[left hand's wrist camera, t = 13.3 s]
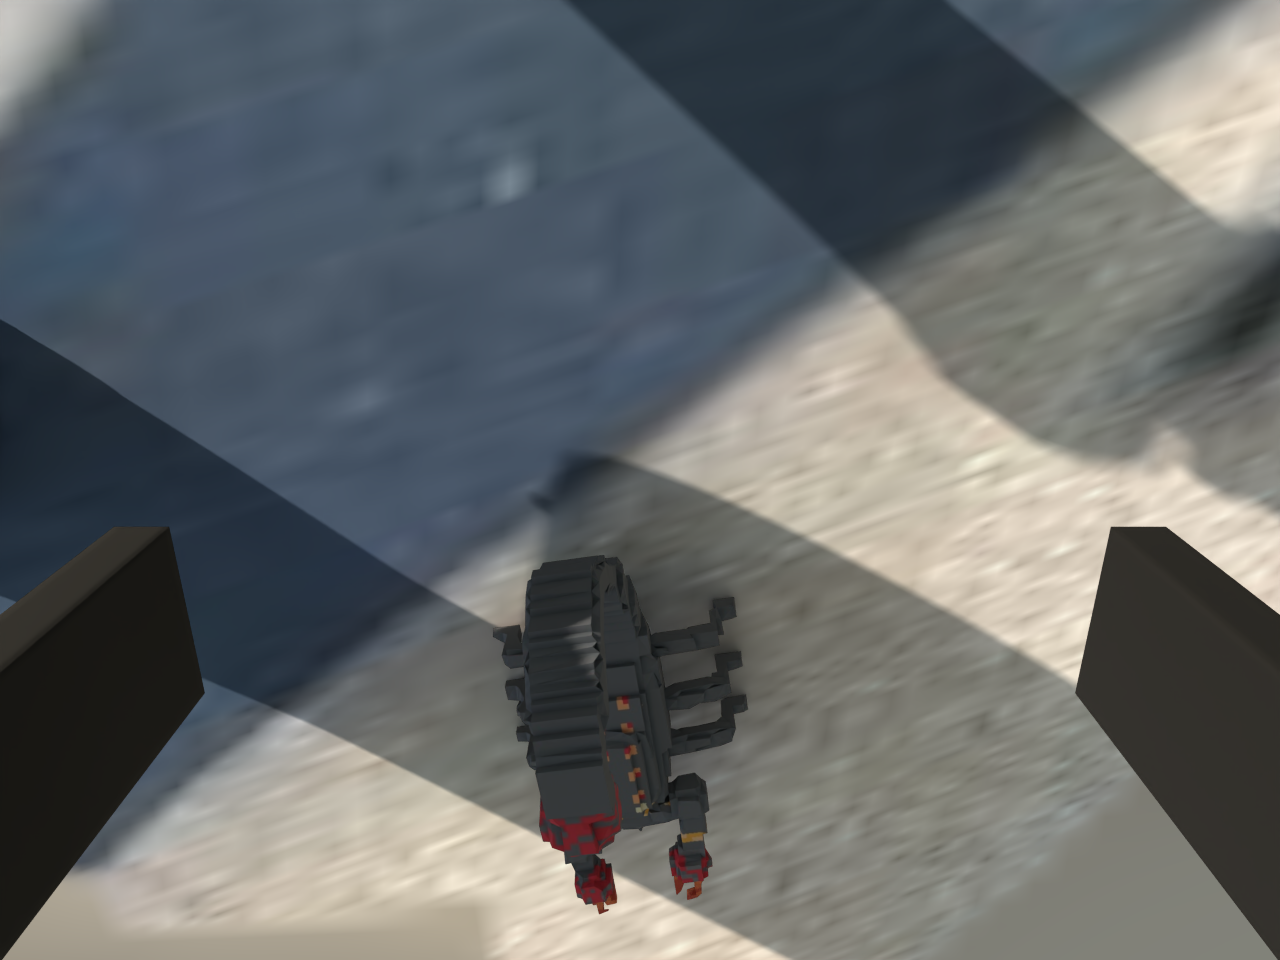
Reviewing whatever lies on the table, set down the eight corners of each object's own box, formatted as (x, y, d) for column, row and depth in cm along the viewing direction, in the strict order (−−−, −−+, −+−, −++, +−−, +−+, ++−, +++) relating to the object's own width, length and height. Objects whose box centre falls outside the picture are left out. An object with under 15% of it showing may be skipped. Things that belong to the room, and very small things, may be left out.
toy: (715, 443, 46) (760, 635, 29) (764, 845, 56) (819, 1166, 39) (457, 478, 46) (353, 686, 29) (551, 870, 56) (513, 1195, 39)
